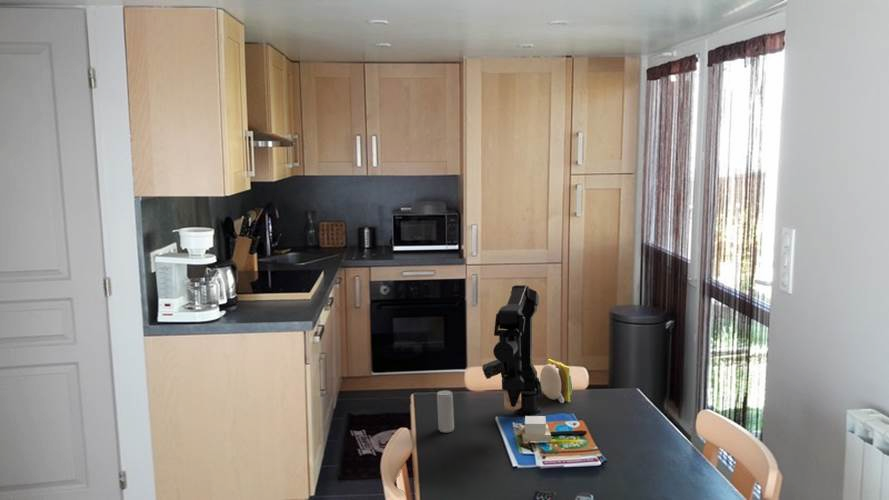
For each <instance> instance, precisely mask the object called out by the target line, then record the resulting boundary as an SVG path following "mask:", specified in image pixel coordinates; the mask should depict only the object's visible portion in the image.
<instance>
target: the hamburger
mask: <svg viewBox="0 0 889 500" xmlns="http://www.w3.org/2000/svg"><path fill="white" fill-rule="evenodd" d="M570 371H571V370H570V367H569V366H567V365H565V364H564V363H562V362H561V361H555V360H552V359H550V358H548V359H547V364H545V365H544V366H543V367H542V369H541V371H540V376H539V381H540V383H541V388H542V393H543V394H544V395H545V397H547V398H548V399H550V400H558V401H559V402H560V403H561V404H564V403H565V401H566V402H567V403H571V395H572V392H573V380H572V377H571V373H570Z"/></svg>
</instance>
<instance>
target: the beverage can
mask: <svg viewBox="0 0 889 500" xmlns="http://www.w3.org/2000/svg"><path fill="white" fill-rule="evenodd" d="M453 397H454V395H453V392H452V391H451V390H445V389H444V390H443V389H442V390H440V391H438V392H437V394H436V403H437V404H436V405H437V422H438V423H437V424H438V430H439V432H440V433H444V434H446V433H451V432H453V431H454V430H455V418H454V417H455V416H454V415H455V414H454V399H453Z"/></svg>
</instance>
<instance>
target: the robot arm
mask: <svg viewBox="0 0 889 500" xmlns="http://www.w3.org/2000/svg"><path fill="white" fill-rule="evenodd" d="M539 304H540V297H539V294H538V292H537V290H535V289H532V288H531V287H530V286H528V285H526V284H524V285H521V284H515V285H513V286H511V291H510V296H509V299H508V301H507V304H506V305H504V306H501V307H500V309H499V310H498V312H497V313H496V314H495V322H494V331H493V335H494V337H495V336H497V337H498V338H499V339H498V341H497V343H496V344H495V345H494V348H493V356H494V358H495V360H492V361H489V362H486V363H484V364H483V365H482V367H481V368H482V369H481V370H482V372H483V375H484V376H485V378H486V380H489V379H491V378H493V377H495V376H498V375H500V376H501V389H502V390H503V391H504V390H506V391H507V392H508V395H509V399H510V403H511V407H515V406H516V403H517V401H518V398H519V396H520V393H521V408H520V409H517V410H513V412H514V413H517V414H520V415H524V416H534V415H535V414H537V413H540V412H541V411H542V409H541V408H538V397H539V396H542V393H543V390H542V388H541V383H540V377H538V371H537V370H536V367H535V366H534V364H533V317H534V316H535V315H536V313H537V311H538V306H540V305H539Z"/></svg>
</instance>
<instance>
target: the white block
mask: <svg viewBox="0 0 889 500" xmlns="http://www.w3.org/2000/svg"><path fill="white" fill-rule="evenodd" d="M524 417H525V418H524V425H525V434H546V425H547V422H546V419H547V418H546V415H545V416H543V415H540V416H539V415H531V416H526V415H524Z"/></svg>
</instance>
